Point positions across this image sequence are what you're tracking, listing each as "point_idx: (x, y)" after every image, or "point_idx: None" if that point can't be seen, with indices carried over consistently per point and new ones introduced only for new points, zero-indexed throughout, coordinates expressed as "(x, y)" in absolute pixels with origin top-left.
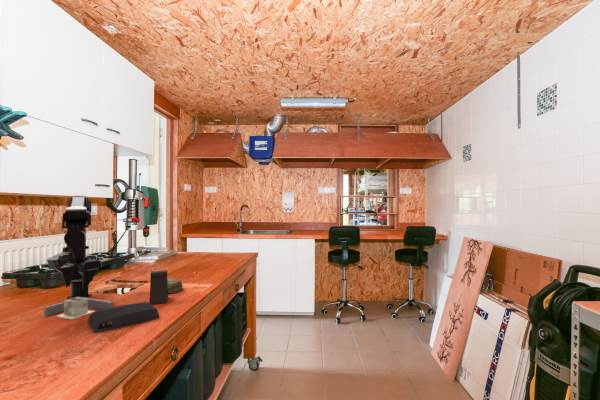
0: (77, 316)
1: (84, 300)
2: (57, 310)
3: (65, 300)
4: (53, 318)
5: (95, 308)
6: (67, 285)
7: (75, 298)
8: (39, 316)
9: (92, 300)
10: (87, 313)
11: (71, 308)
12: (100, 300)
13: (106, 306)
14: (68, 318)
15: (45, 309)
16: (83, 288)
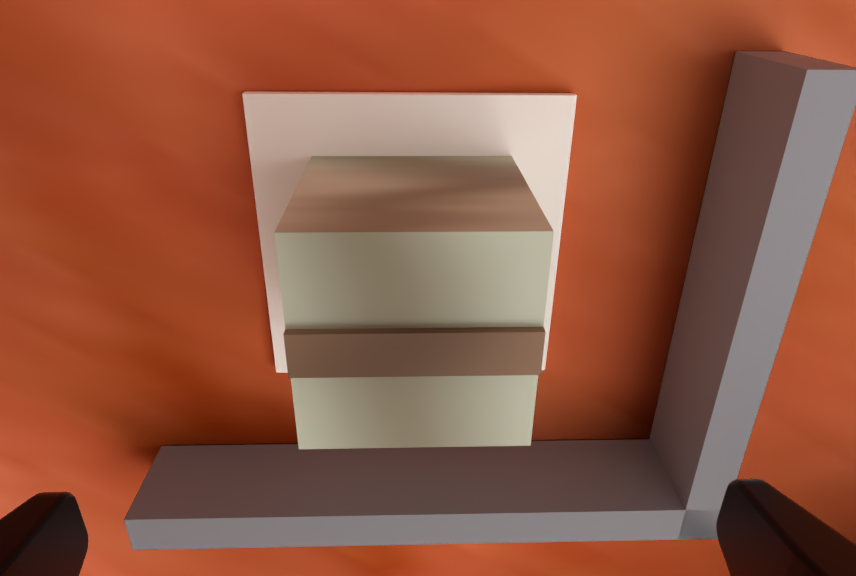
0: (274, 184)
1: (297, 391)
2: (718, 203)
3: (534, 247)
4: (548, 29)
5: None
6: (739, 520)
7: (449, 365)
8: (837, 7)
9: (464, 508)
10: (278, 300)
11: (342, 191)
12: (342, 532)
13: (208, 477)
14: (316, 94)
15: (816, 64)
16: (29, 504)
